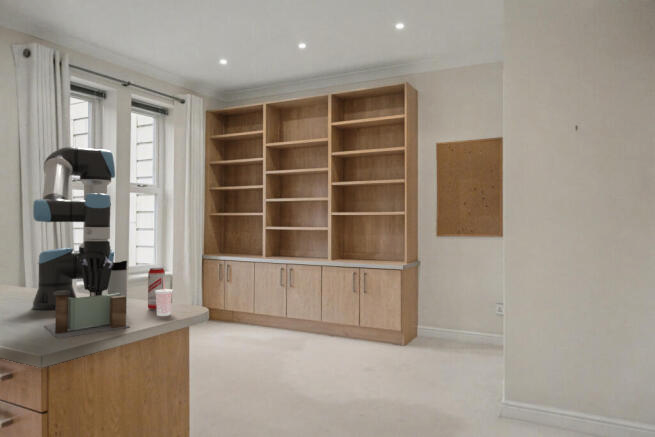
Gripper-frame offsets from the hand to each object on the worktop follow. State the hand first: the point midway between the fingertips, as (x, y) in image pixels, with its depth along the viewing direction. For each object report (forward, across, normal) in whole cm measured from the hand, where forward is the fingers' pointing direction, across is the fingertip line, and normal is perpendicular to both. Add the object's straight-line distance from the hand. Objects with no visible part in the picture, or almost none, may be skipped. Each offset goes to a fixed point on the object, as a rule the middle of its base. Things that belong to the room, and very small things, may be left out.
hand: (95, 311), depth 142 cm
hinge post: (+5, -1, -12) cm, 12 cm away
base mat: (+5, -1, -2) cm, 5 cm away
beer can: (+5, 0, +29) cm, 29 cm away
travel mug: (+5, -5, +15) cm, 16 cm away
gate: (+4, +3, -3) cm, 6 cm away
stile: (+4, +10, 0) cm, 10 cm away
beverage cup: (+5, +10, +21) cm, 24 cm away
